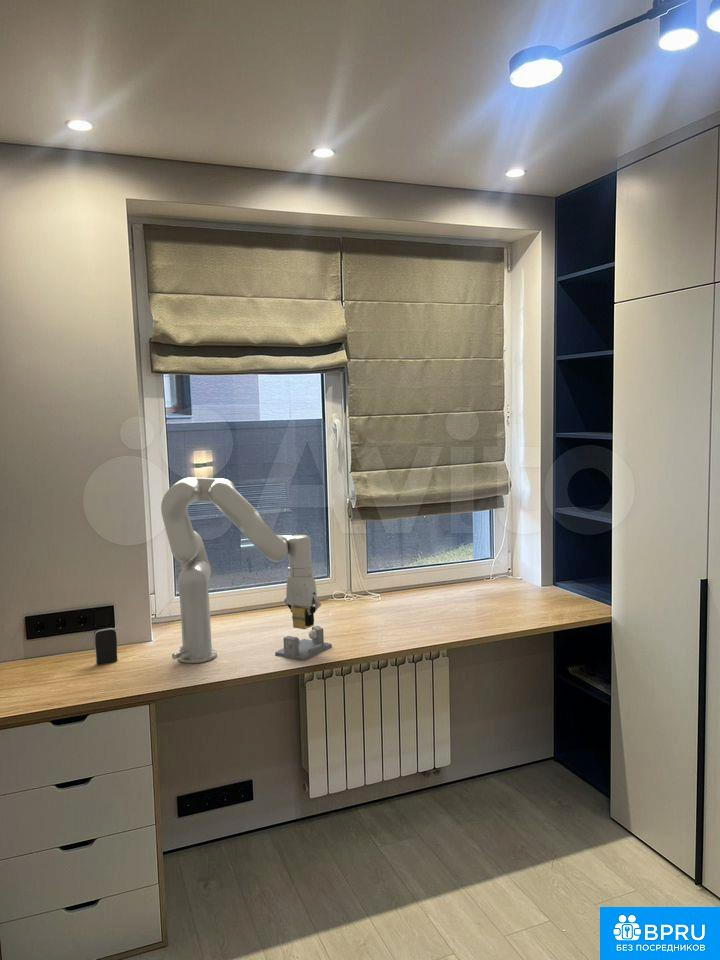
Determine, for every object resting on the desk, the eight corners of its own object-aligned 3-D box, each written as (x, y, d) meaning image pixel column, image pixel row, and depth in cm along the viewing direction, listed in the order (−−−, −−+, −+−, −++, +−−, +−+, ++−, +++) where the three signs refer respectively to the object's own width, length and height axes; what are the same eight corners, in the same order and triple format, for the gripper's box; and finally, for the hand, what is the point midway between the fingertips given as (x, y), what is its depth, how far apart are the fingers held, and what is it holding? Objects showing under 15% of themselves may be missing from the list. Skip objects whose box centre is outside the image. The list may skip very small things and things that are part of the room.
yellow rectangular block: (305, 629, 237) (304, 609, 236) (292, 627, 240) (291, 607, 239) (314, 625, 241) (313, 605, 241) (302, 623, 244) (301, 603, 244)
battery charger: (115, 658, 239) (113, 625, 238) (118, 661, 236) (116, 628, 235) (94, 663, 235) (91, 629, 234) (96, 666, 232) (94, 632, 231)
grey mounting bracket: (303, 660, 231) (303, 641, 231) (275, 655, 238) (274, 636, 237) (332, 646, 245) (331, 627, 245) (304, 641, 252) (304, 623, 251)
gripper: (274, 571, 240) (276, 624, 242) (314, 576, 231) (317, 630, 233) (287, 567, 247) (290, 618, 248) (328, 571, 237) (330, 624, 239)
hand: (303, 623), depth 241 cm, fingers closed on yellow rectangular block, 5 cm apart
